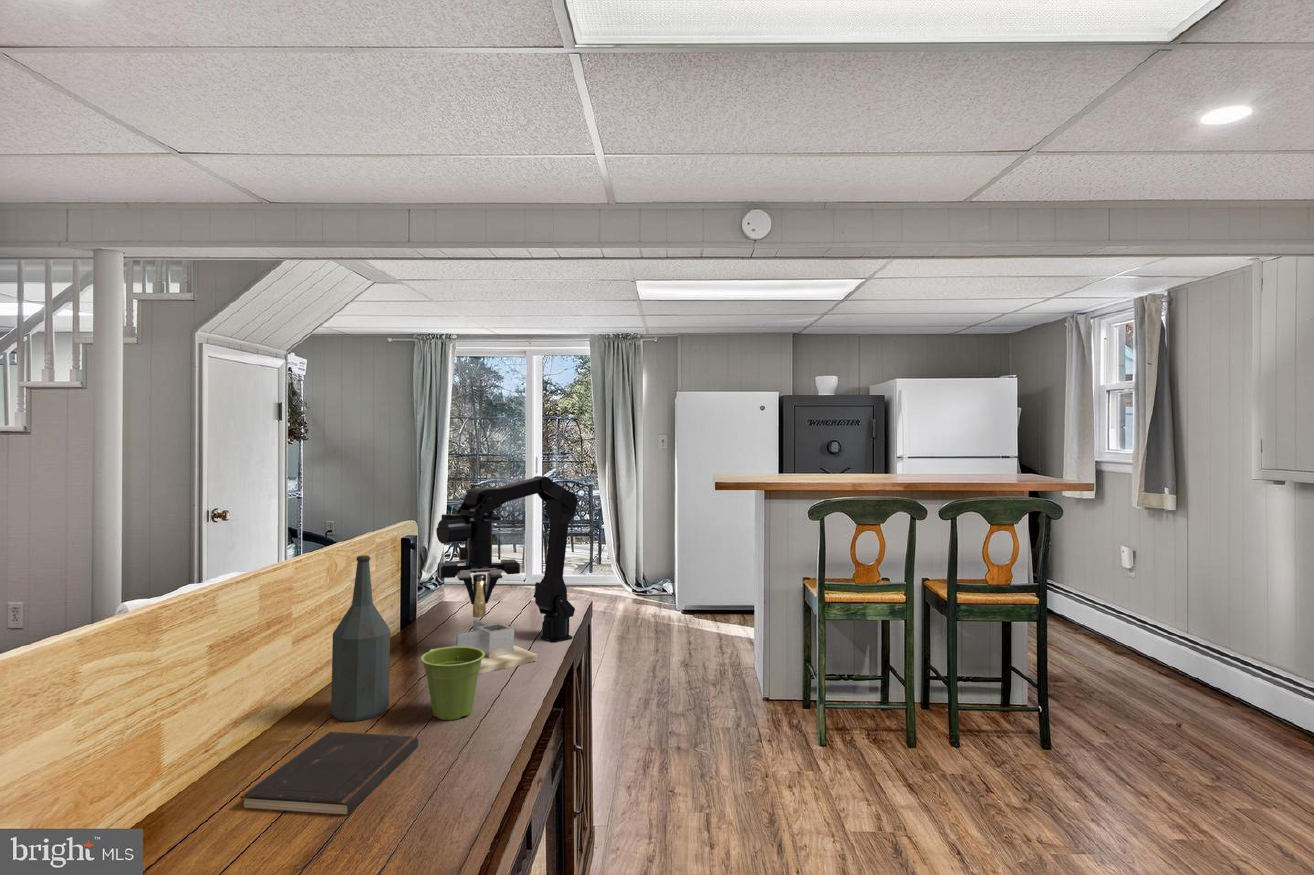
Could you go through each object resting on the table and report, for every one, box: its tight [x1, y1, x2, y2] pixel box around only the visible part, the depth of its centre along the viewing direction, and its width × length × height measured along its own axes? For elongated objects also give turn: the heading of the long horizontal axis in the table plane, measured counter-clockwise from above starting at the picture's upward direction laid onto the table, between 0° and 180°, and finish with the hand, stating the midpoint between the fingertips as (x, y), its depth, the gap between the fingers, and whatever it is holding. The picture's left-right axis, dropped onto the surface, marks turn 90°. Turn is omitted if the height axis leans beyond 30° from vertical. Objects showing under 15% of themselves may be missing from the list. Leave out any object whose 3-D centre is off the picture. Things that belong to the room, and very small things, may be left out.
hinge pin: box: [472, 573, 487, 618], centre depth 175 cm, size 3×3×10 cm
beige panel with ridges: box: [428, 619, 538, 675], centre depth 173 cm, size 18×20×8 cm
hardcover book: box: [240, 731, 419, 816], centre depth 112 cm, size 16×23×2 cm
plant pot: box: [420, 646, 485, 721], centre depth 138 cm, size 12×12×11 cm
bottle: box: [330, 555, 391, 722], centre depth 138 cm, size 10×10×30 cm
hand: (479, 603), depth 175 cm, fingers closed on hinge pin, 3 cm apart
